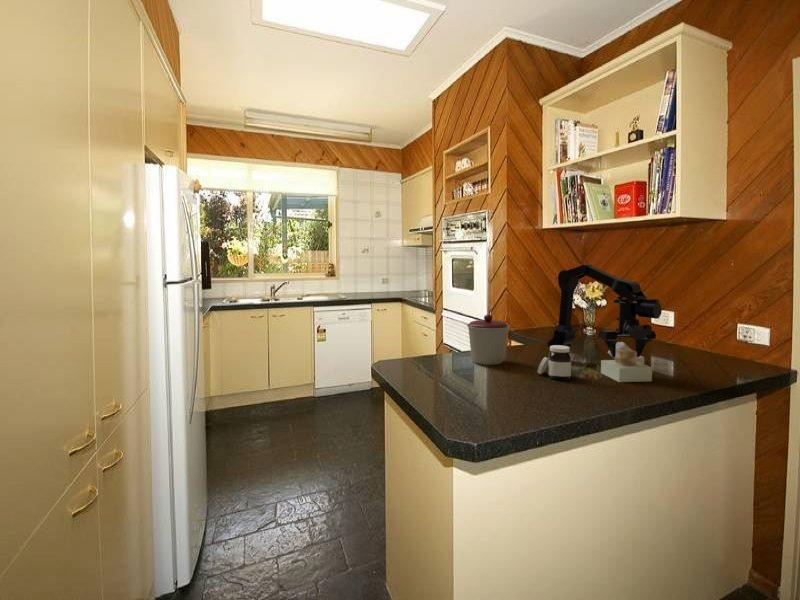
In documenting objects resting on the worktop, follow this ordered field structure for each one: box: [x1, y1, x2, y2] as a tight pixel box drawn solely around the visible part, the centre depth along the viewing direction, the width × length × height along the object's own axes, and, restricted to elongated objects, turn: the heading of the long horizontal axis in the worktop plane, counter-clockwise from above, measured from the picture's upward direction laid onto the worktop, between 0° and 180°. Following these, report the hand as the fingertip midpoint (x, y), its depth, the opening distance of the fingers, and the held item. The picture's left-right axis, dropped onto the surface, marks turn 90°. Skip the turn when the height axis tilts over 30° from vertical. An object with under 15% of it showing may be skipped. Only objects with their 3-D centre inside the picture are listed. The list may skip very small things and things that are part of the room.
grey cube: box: [637, 355, 645, 365], centre depth 160 cm, size 5×5×5 cm
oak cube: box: [614, 348, 637, 366], centre depth 147 cm, size 5×5×5 cm
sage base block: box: [600, 359, 653, 383], centre depth 148 cm, size 12×12×5 cm
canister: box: [466, 314, 511, 366], centre depth 171 cm, size 18×18×21 cm
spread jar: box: [537, 345, 572, 381], centre depth 149 cm, size 12×11×12 cm
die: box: [607, 341, 633, 360], centre depth 173 cm, size 8×9×10 cm
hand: (625, 357), depth 147 cm, fingers open, 9 cm apart
